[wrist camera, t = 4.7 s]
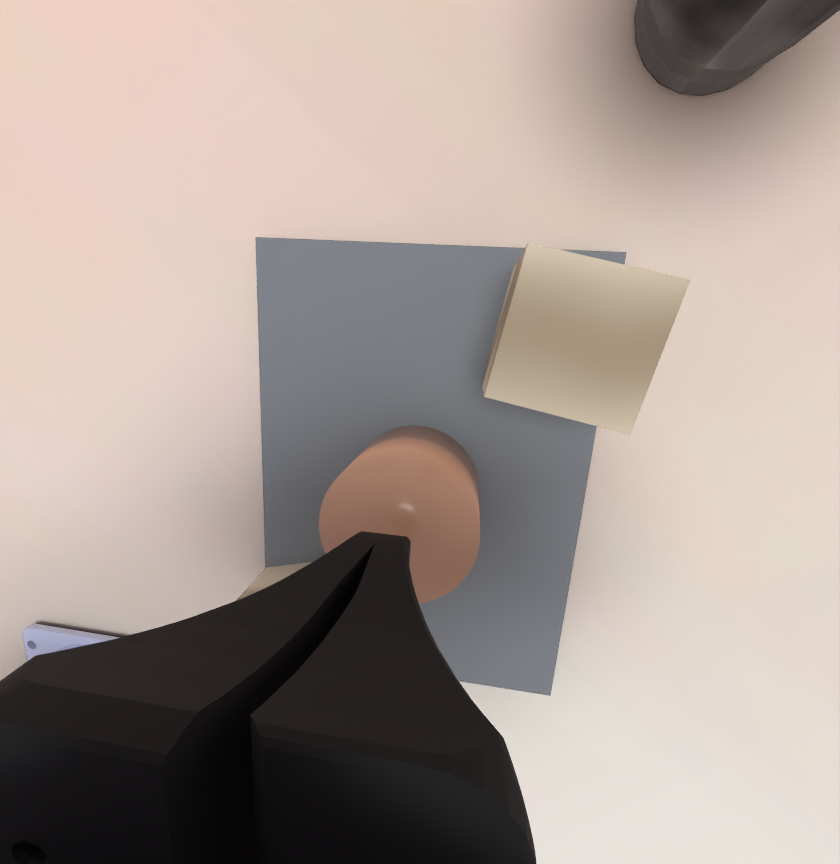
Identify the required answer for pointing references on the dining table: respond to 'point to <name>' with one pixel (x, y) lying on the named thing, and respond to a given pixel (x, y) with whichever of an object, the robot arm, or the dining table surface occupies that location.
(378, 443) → the tan rounded piece
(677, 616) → the dining table surface
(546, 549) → the slate mat
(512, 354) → the birch cube
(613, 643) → the dining table surface
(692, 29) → the beverage cup
